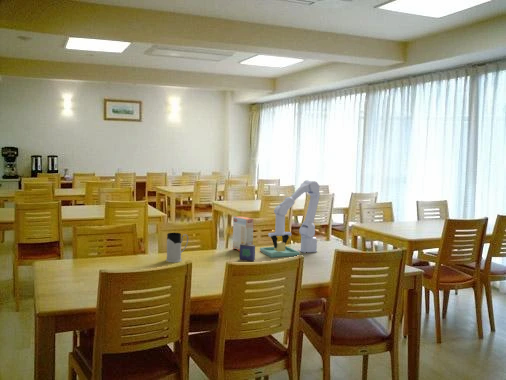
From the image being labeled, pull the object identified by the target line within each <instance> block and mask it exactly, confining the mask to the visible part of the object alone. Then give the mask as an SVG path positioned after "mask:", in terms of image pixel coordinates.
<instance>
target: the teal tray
mask: <svg viewBox="0 0 506 380" xmlns="http://www.w3.org/2000/svg"><path fill="white" fill-rule="evenodd" d="M259 252H261V253H262V254H264V255H266V256H267V257H269V258H282V257H283V258H284V257H285V258H286V257H288V256H289V257H297V256H296V255H299V256H300V251H299V250H296V249H294V248H292V247H290V246H287V245H285V251H280V252H277V251H275V250H274V246H269V247H268V246H267V247H264V246H263V247H259Z"/></svg>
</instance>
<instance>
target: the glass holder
mask: <svg viewBox="0 0 506 380" xmlns="http://www.w3.org/2000/svg"><path fill="white" fill-rule="evenodd" d="M185 236H186V243H185V246H184V247H183V248H182V243H183V238H184V237H185ZM188 243H189V236H188V234H183V235H182V234H181V233H180V232H169V233H167V235H166V259H165V261H166V262H167V261H168V262H167V263H179V262H182V253H183V252H184V250H185V249H186V248H187V246H188Z"/></svg>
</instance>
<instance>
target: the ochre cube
mask: <svg viewBox="0 0 506 380" xmlns="http://www.w3.org/2000/svg"><path fill="white" fill-rule="evenodd" d="M285 246H286V245H285V243H284V242H283V241H281V240H280V241H277V248H274V250H275V251H277V252H280V251H285Z"/></svg>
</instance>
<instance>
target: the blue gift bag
mask: <svg viewBox="0 0 506 380" xmlns="http://www.w3.org/2000/svg"><path fill="white" fill-rule="evenodd" d="M248 244H249V242H246V244H245V243H243V244H240V251H239V261H244V260H247V261H246V262H255V261H256V245H255V244H253V245H248ZM254 260H255V261H254Z"/></svg>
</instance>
